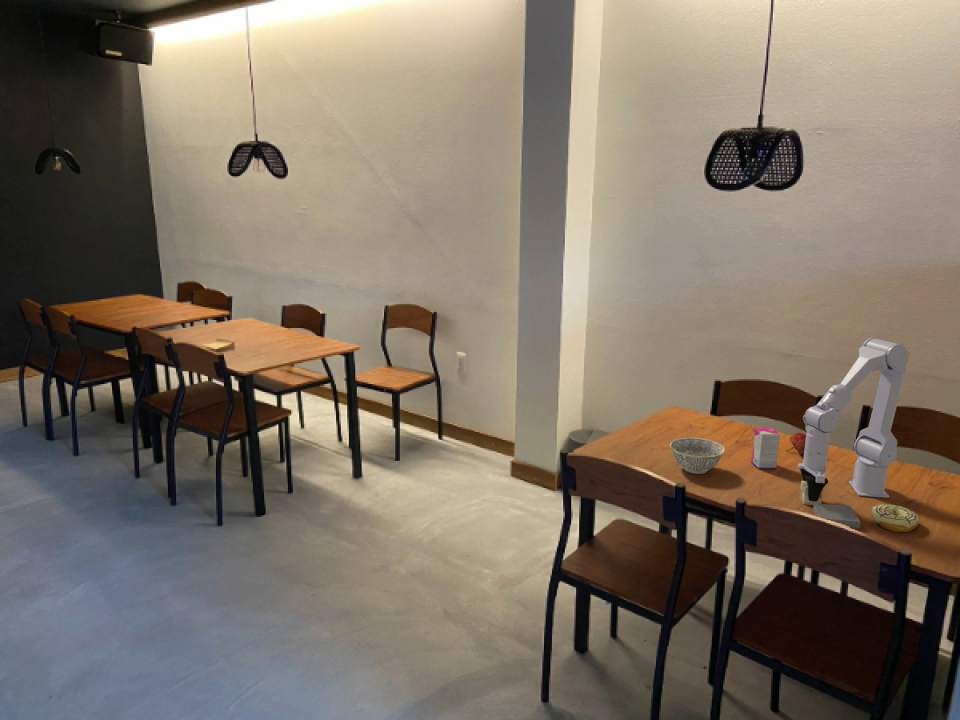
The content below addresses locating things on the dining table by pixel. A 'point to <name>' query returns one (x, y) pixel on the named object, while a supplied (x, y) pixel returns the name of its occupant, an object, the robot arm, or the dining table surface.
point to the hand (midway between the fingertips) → (810, 496)
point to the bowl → (696, 454)
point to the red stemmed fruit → (798, 442)
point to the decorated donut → (895, 518)
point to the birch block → (805, 495)
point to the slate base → (837, 514)
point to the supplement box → (765, 448)
